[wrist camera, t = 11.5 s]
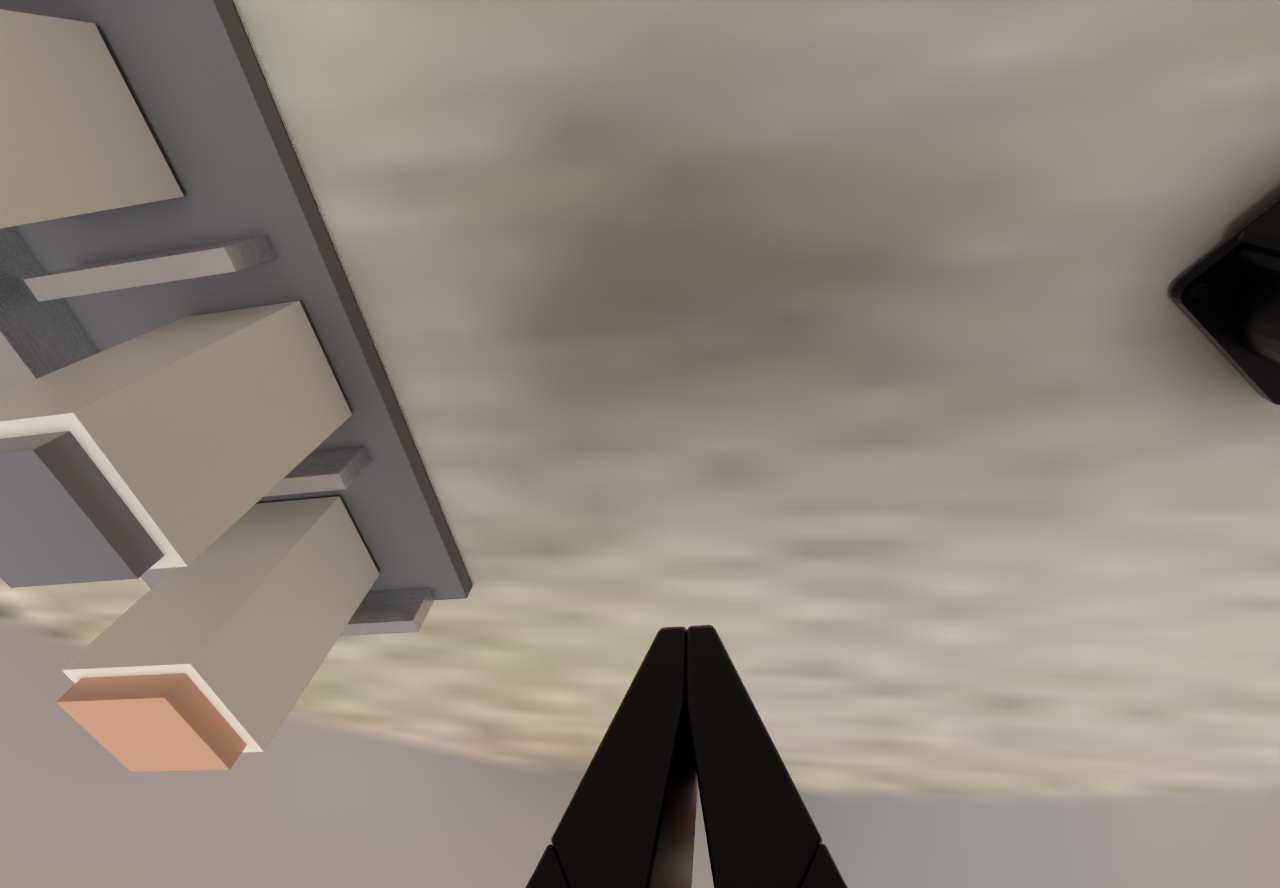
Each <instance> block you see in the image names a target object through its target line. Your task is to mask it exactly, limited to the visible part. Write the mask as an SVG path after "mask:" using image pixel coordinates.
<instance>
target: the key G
mask: <svg viewBox="0 0 1280 888" xmlns="http://www.w3.org/2000/svg"><path fill="white" fill-rule="evenodd" d="M179 197H184V195H183V193H182V192H181V190H180V188H179V186H178V184H177V182H176V180H175V178H174V176H173V174H172V172H171V170H170V168H169V166H168V164H167V163H166V161H165V159H164V157H163V155H162V153H161V151H160V149H159V147H158V145H157V143H156V141H155V139H154V137H153V135H152V134H151V132H150V130H149V128H148V126H147V124H146V122H145V120H144V118H143V116H142V114H141V112H140V110H139V108H138V106H137V105H136V103H135V101H134V99H133V97H132V95H131V93H130V91H129V89H128V87H127V85H126V83H125V81H124V79H123V78H122V76H121V74H120V72H119V70H118V68H117V66H116V64H115V62H114V60H113V58H112V56H111V54H110V52H109V50H108V49H107V47H106V45H105V43H104V41H103V39H102V37H101V35H100V33H99V31H98V29H97V27H96V25H95V23H89V22H83V21H76V20H69V19H62V18H56V17H49V16H42V15H35V14H29V13H22V12H15V11H8V10H2V9H0V229H1V228H7V227H12V226H18V225H24V224H30V223H36V222H41V221H47V220H53V219H59V218H64V217H70V216H76V215H82V214H87V213H93V212H99V211H104V210H110V209H116V208H122V207H127V206H133V205H139V204H144V203H150V202H156V201H161V200H167V199H173V198H179Z"/></svg>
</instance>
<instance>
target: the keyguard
mask: <svg viewBox="0 0 1280 888" xmlns="http://www.w3.org/2000/svg"><path fill="white" fill-rule="evenodd" d="M275 257H278V256H277V254H276V252H275V250H274V247H273V245H272V243H271V241H270V239H269V237H268V234H267V235H261V236H254V237H248V238H242V239H236V240H230V241H223V242H217V243H211V244H205V245H199V246H192V247H186V248H180V249H174V250H168V251H161V252H155V253H149V254H143V255H137V256H130V257H124V258H118V259H112V260H106V261H99V262H93V263H87V264H81V265H78V266H74V267H70V268H66V269H62V270H58V271H54V272H50V273H47V272H46V271H45V269H44V268H43V266H42V265H41V263H40V262H39V260H38V259H37V257H36V256H35V254H34V253H33V251H32V250H31V248H30V247H29V245H28V244H27V242H26V241H25V239H24V238H23V236H22V235H21V233H20V232H19V230H18V229H17V228H16V226H12V227H7V228H1V229H0V394H1V393H3V392H6V391H8V390H11V389H13V388H15V387H18V386H20V385H23V384H25V383H27V382H30V381H32V380H35V379H37V378H39V377H42V376H44V375H47V374H49V373H52V372H54V371H56V370H59V369H61V368H64V367H66V366H68V365H71V364H73V363H76V362H78V361H80V360H83V359H85V358H88V357H90V356H92V355H95V354H97V353H100V351H99V349H98V348H97V346H96V345H95V343H94V342H93V340H92V339H91V337H90V336H89V334H88V333H87V331H86V330H85V328H84V327H83V325H82V324H81V322H80V321H79V319H78V318H77V317H76V315H75V314H74V312H73V311H72V309H71V308H70V306H69V305H68V303H67V302H66V300H65V299H64V298H66V297H72V296H79V295H85V294H92V293H99V292H105V291H112V290H118V289H125V288H131V287H138V286H144V285H151V284H157V283H164V282H171V281H177V280H184V279H190V278H197V277H203V276H210V275H216V274H223V273H229V272H236V271H239V270H242V269H244V268H247V267H250V266H253V265H255V264H258V263H261V262H264V261H267V260H269V259H272V258H275ZM371 461H372V459H371V457H370V455H369V453H368V451H367V448H366V446H365V445H363V446H353V447H344V448H334V449H324V450H315V451H312V452H311V453H310V454H309V455H308V456H307V457H306V458H305V459H304V460H302V461H301V462H300V463H299V464H298V465H297V466H296V467H295V468H294V469H293V470H292V471H291V472H289V473H288V474H287V475H286V476H285V477H284V478H283V479H282V480H281V481H280V482H279V483H277V484H276V485H275V486H274V487H273V488H272V489H271V490H270V491H269V492H268V493H267V494H266V495H264V496H263V497H266V496H277V495H288V494H299V493H310V492H321V491H331V490H342V489H347V488H348V487H349V485H350V484H351V483H352V482H353V481H354V480H355V479H356V478H357V476H358V475H359V474H360V473H361V472H362V471H363V470H364V469H365V467H366V466H367V465H368V464H369V463H370V462H371ZM174 568H175V567H173V568H159V569H148V570H147V571H146V572H145V573H144V574H142V575H141V577H142V578H143V580H144V581H145V582H146V583H147V585H148V586H149V587H150V588H151V589H152V588H153V587H154V586H155V585H156V584H157V583H158V582H160V581H161V580H162V579H163V578H164V577H165V576H166V575H167V574H168V573H170V572H171V571H172V570H173V569H174ZM435 598H436V597H435V595H434V593H433V591H432V589H431V587H422V588H407V589H391V590H376V591H368V593H367V594H366V596H365V598H364V599H363V601H362V602H361V604H360V605H359V607H358V608H357V610H356V611H355V613H354V614H353V616H352V617H351V619H350V620H349V622H348V624H347V625H346V627H345V628H344V630H343V631H342V633H341V634H340V636H350V635H368V634H387V633H405V632H419V630H420V628H421V626H422V624H423V622H424V620H425V618H426V616H427V614H428V612H429V610H430V608H431V606H432V604H433V602H434V600H435Z"/></svg>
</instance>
